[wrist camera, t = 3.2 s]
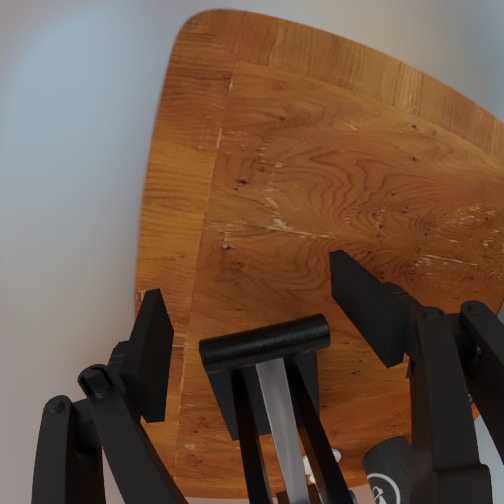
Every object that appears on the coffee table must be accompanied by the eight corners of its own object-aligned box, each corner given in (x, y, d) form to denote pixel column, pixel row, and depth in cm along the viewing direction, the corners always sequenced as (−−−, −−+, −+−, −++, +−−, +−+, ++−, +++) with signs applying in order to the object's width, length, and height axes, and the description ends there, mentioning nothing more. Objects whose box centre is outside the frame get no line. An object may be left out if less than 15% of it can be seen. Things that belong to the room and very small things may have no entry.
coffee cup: (384, 470, 34) (422, 545, 20) (336, 473, 31) (373, 564, 17) (427, 428, 31) (479, 505, 17) (383, 428, 29) (439, 526, 15)
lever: (201, 333, 13) (196, 349, 11) (314, 308, 13) (331, 319, 11) (260, 523, 13) (264, 549, 11) (340, 503, 14) (352, 527, 11)
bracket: (198, 341, 21) (205, 528, 8) (309, 316, 22) (400, 478, 9) (231, 431, 25) (252, 566, 12) (316, 411, 26) (368, 537, 13)
